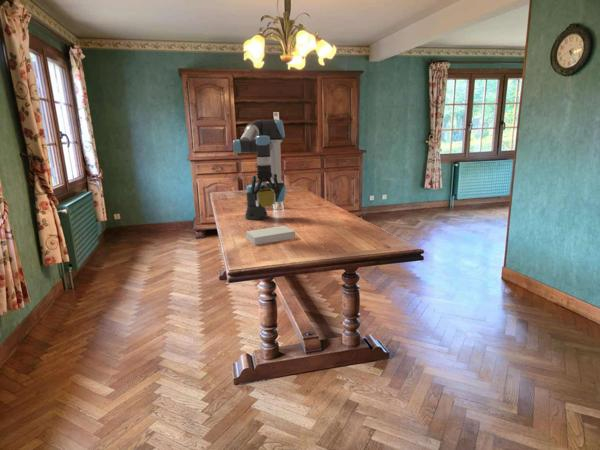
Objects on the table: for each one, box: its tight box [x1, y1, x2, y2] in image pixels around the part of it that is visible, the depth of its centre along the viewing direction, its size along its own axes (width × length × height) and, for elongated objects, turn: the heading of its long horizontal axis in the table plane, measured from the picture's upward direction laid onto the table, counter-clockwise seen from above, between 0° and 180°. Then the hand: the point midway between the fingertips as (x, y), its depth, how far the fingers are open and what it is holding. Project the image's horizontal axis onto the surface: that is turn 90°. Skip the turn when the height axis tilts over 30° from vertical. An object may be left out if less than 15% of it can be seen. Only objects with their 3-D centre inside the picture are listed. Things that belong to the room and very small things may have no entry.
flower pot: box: [257, 189, 274, 208], centre depth 215 cm, size 9×9×9 cm
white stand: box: [245, 225, 296, 246], centre depth 217 cm, size 14×24×4 cm, turn 117°
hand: (265, 205), depth 216 cm, fingers closed on flower pot, 9 cm apart
